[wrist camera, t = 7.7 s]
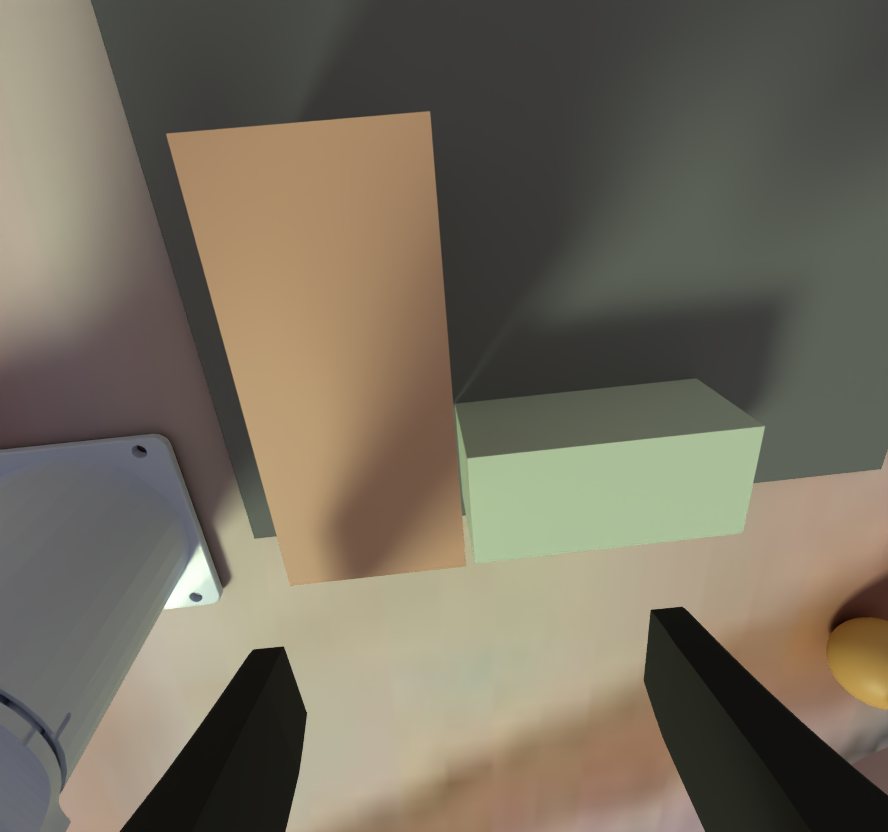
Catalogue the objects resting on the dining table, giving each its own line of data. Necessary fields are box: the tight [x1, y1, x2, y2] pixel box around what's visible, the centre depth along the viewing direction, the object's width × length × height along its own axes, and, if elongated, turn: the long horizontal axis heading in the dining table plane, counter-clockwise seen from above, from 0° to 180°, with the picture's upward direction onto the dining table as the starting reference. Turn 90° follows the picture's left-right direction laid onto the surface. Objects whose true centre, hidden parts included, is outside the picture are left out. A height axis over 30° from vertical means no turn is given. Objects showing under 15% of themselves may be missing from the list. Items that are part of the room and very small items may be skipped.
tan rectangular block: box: [166, 111, 466, 586], centre depth 12 cm, size 4×9×4 cm, turn 4°
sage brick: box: [455, 378, 765, 563], centre depth 18 cm, size 9×4×4 cm, turn 95°
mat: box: [91, 0, 888, 538], centre depth 17 cm, size 26×18×1 cm
